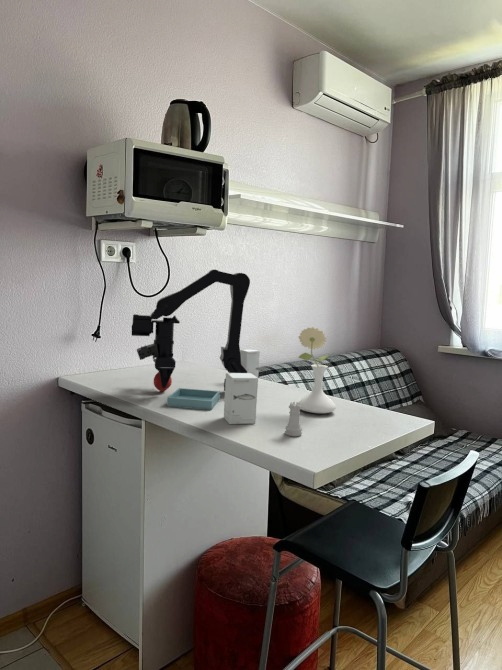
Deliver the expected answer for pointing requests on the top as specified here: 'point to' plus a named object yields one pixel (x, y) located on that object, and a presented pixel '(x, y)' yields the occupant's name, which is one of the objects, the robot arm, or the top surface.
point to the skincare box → (250, 361)
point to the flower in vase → (315, 374)
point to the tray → (193, 398)
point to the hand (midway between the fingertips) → (162, 384)
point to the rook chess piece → (294, 421)
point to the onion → (158, 383)
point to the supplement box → (240, 398)
